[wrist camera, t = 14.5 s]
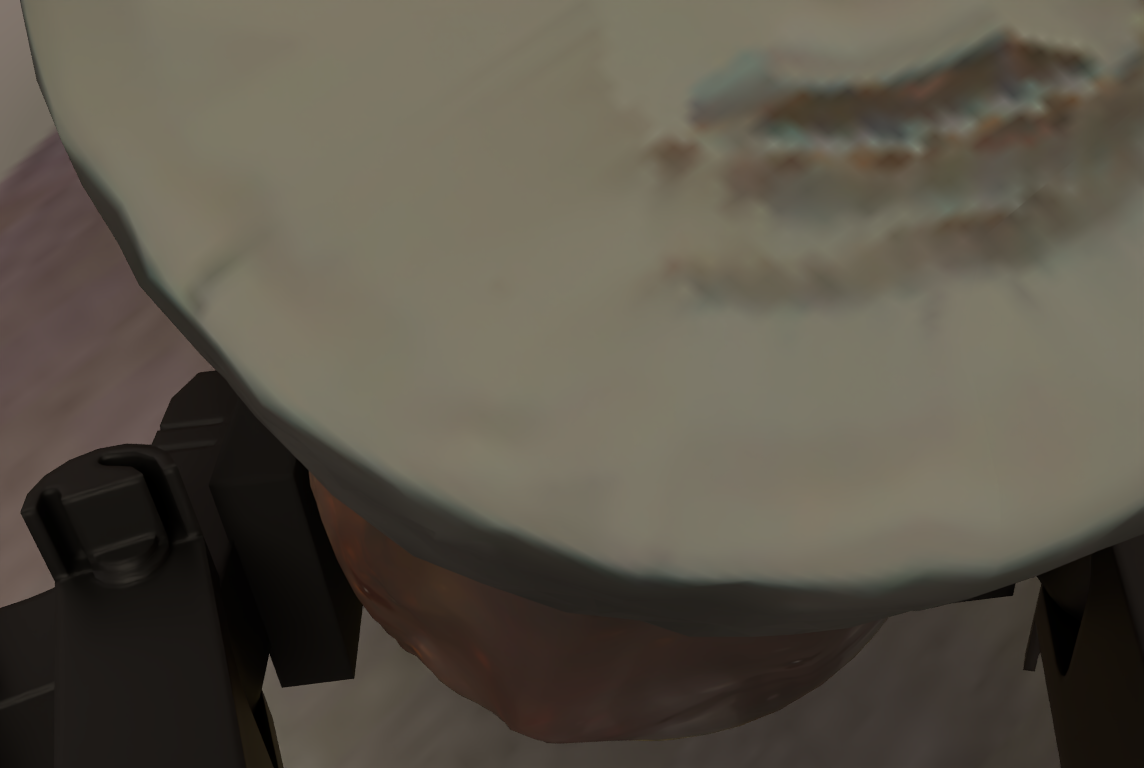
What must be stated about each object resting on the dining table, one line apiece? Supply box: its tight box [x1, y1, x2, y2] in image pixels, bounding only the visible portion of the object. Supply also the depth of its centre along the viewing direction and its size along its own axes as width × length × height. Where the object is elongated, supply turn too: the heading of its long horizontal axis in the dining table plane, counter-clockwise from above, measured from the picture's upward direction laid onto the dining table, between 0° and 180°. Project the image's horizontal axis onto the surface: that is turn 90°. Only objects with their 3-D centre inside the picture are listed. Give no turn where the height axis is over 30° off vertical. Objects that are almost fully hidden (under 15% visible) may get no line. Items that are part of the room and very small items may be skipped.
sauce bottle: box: [20, 0, 1144, 744], centre depth 12 cm, size 7×6×20 cm
